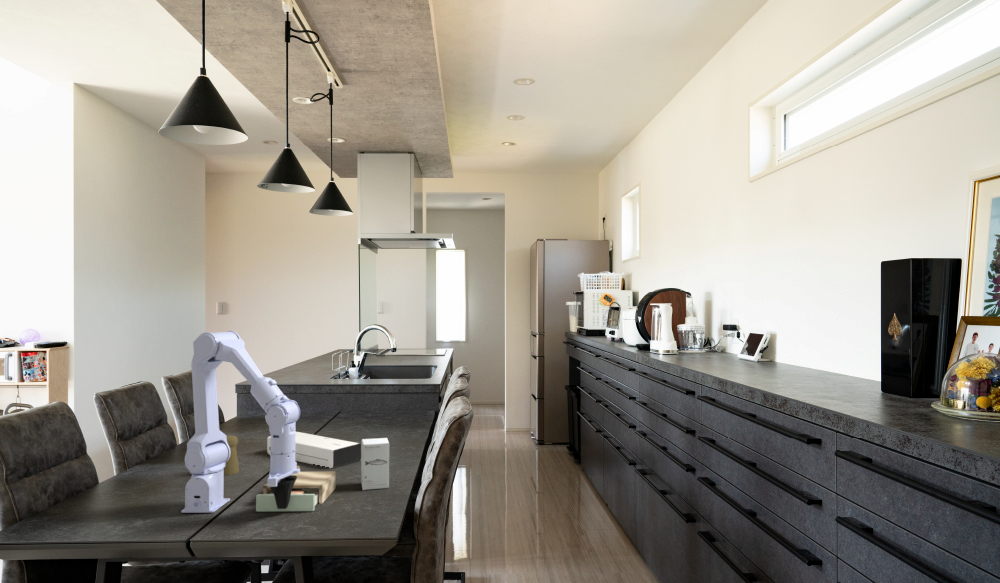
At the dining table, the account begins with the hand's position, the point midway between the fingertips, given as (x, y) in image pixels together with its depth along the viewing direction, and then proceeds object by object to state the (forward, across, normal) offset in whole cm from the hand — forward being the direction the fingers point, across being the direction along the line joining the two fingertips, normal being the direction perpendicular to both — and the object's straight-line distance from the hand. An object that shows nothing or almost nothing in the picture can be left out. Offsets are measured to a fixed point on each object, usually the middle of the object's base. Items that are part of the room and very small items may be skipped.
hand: (282, 507), depth 145 cm
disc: (0, +7, 0) cm, 7 cm away
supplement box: (+2, +22, -18) cm, 28 cm away
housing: (+1, +13, 0) cm, 13 cm away
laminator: (+2, +53, +9) cm, 54 cm away
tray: (+1, +9, 0) cm, 9 cm away
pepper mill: (+2, +36, +29) cm, 46 cm away
